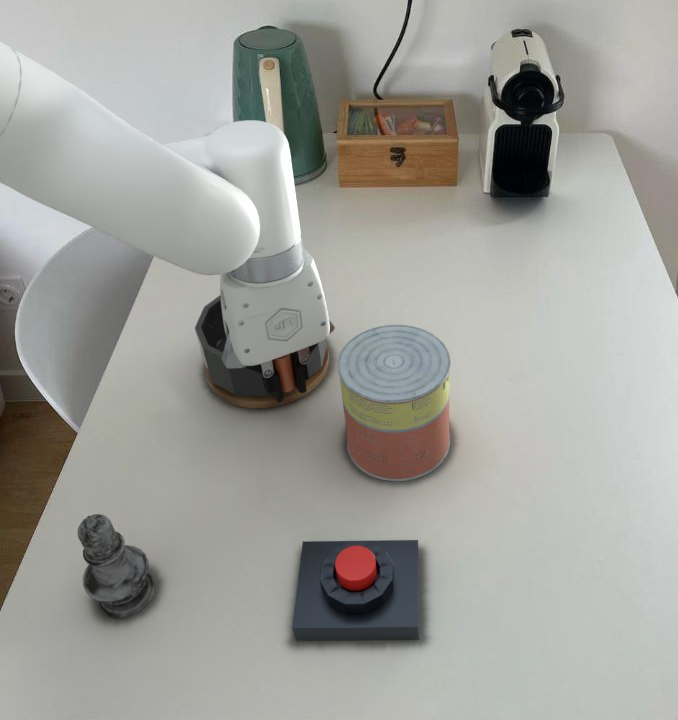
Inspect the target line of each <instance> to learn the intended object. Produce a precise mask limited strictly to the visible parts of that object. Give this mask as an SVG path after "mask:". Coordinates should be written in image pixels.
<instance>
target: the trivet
mask: <svg viewBox="0 0 678 720" xmlns="http://www.w3.org/2000/svg"><path fill="white" fill-rule="evenodd" d="M220 341H221V340H220ZM220 341H219V342H220ZM219 342H218V343H219ZM218 343H217V345H218ZM329 366H330V352H329V347H328V345H327V348H326V352H325V356H324V360H323V364H322V367H321V368H320V369H319V370H318V371H317V372H316V373H315V374H314V375H313V376H311V377H310V378H309V379H308V380H307V381H306V389H307V392H305V393H300V392H299V391H298V389H297V388H294V389H293V390H292V391H290V392H283V398H284V399H283V400H282V401H281V402H279V403H278V402H277V401H276V399H275V398H274V396H270V397H261V396H241V395H234V394H233V393H231V392H229V391H227V390H225V389H223V388H222V387H220V386H218V385H216V384H214V383H213V382H212V381H211V378H210V376H209V373H208V371H207V368H206V366H205V365H204V375H205V378H206V382H207V384H208V387H209V388H210V389H211V391H212V392H213V393H214V394H215V395H216V396H217V397H218V398H220V399H221V400H223V401H224V402H226V403H229V404H231V405H234V406H237V407H241V408H246V409H270V408H275V407H280V406H284V405H287V404H290V403H293V402H295V401H297V400H300V399H302V398H303V397H305V396H307V395H308V394H309V393H311V392H312V391H313V390H314V389H316V388H317V387H318V386H319V384H320V383H321V382H322V381H323V380H324V378H325V377H326V375H327V373H328V370H329Z"/></svg>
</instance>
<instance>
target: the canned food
mask: <svg viewBox="0 0 678 720" xmlns="http://www.w3.org/2000/svg"><path fill="white" fill-rule="evenodd" d="M450 369H451V356H450V352H449V349H448V348H447V346H446V344H445V343H444V342H443V341H442V340H441V339H440V338H439V337H437V336H436V335H435V334H434V333H432V332H430V331H427V330H425V329H423V328H421V327H416V326H414V325H413V326H412V325H407V324H406V325H405V324H388V325H387V324H386V325H380V326H377V327H373V328H370V329H367V330H365V331H363V332H361V333H359V334H357V335H356V336H353V337H352V338H351V339H349V341H348V342H347V343H345V345H344V346H343V348H342V349H341V350H340V353H339V355H338V359H337V373H338V376H339V383H340V392H341V400H342V407H343V413H344V416H343V417H344V424H345V431H346V439H347V440H346V445H347V446H346V448H347V452H348V455H349V457H350V459H351V461H352V463H353V464H355V466H356V467H357V468H358V469H359V470H361V471H362V472H363V473H364V474H366V475H368V476H370V477H372V478H375V479H378V480H382V481H386V482H407V481H413V480H416V479H419V478H422V477H424V476H426V475H428V474H430V473H432V472H433V471H435V469H437V468H438V467H439V466H440V465H441V464H442V463H443V462H444V461H445V459H446V457H447V455H448V453H449V451H450V448H451V447H450V446H451V436H450V435H451V434H450Z"/></svg>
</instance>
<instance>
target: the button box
mask: <svg viewBox="0 0 678 720" xmlns="http://www.w3.org/2000/svg"><path fill="white" fill-rule="evenodd" d="M351 546H362V547H365V548H367V549H369V550H370V551H371V552H372V553H373V555H374V556H375V560H376V569H377V575H376V578H375V580H374V582H373V583H372V584H371V585H370V586H369V587H367V588H366V589H363V590H360V591H351V590H348V589H346V588H344V587H343V586H341V584H340V583H339V582H338V579H337V575H336V569H335V561H336V558H337V556H338V555H339V553H340V552H341V551H343V550H344V549H346V548H348V547H351ZM419 551H420V549H419V540H418V539H396V540H395V539H392V540H391V539H387V540H386V539H384V540H383V539H382V540H380V539H379V540H315V541H314V540H313V541H311V540H310V541H309V540H308V541H302V545H301V553H300V562H299V568H298V569H299V571H298V576H297V577H298V579H297V585H296V596H295V602H294V603H295V604H294V611H293V612H294V613H293V621H292V632H293V636H294V641H296V642H304V641H305V642H309V641H311V642H313V641H315V642H316V641H318V642H319V641H404V640H405V641H407V640H410V641H411V640H413V641H416V640H417V641H418V640H420V563H419V562H420V552H419Z"/></svg>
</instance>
